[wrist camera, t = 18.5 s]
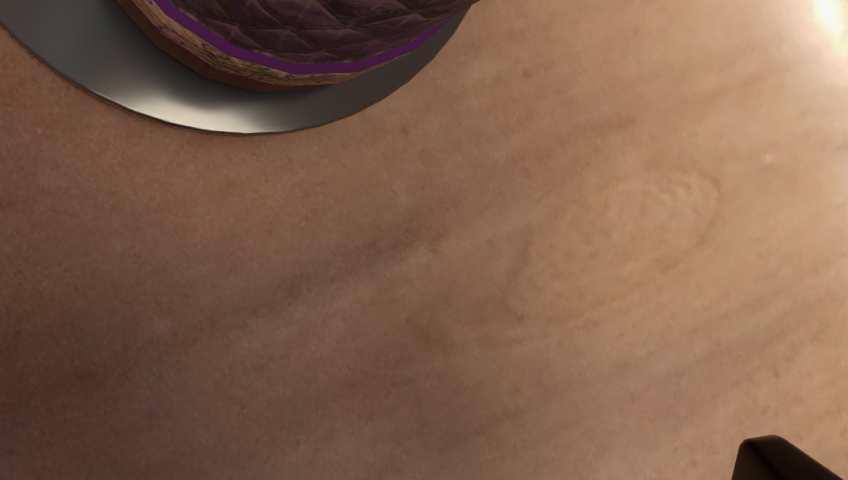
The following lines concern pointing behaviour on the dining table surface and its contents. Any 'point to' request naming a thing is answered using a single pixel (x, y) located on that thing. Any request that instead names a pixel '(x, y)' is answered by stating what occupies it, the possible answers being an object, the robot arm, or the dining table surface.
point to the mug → (289, 37)
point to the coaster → (187, 73)
